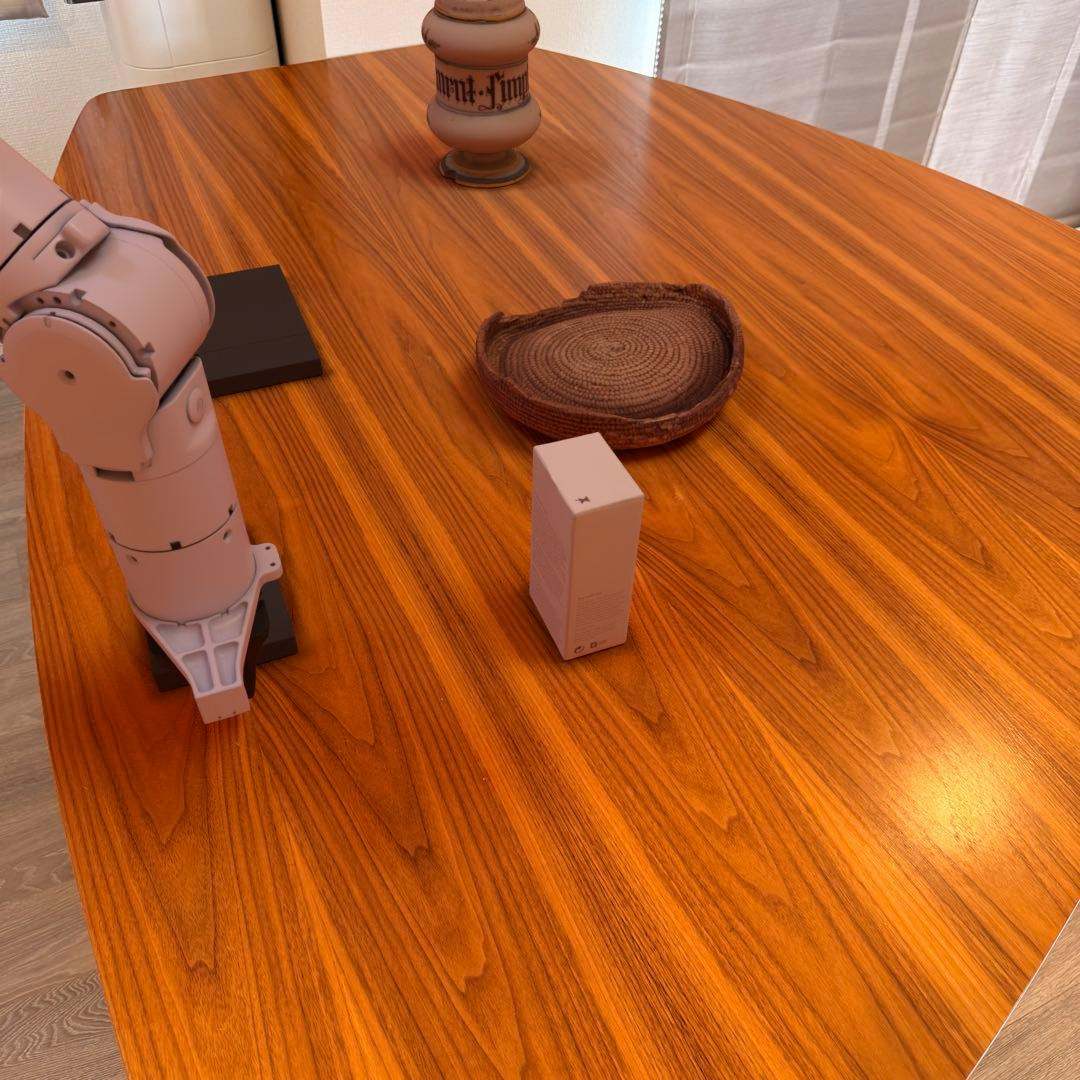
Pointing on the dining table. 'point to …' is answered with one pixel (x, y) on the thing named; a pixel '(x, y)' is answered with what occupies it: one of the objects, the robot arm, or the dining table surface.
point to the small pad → (273, 647)
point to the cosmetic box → (583, 543)
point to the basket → (616, 362)
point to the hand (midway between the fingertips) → (233, 693)
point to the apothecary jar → (482, 88)
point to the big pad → (255, 333)
